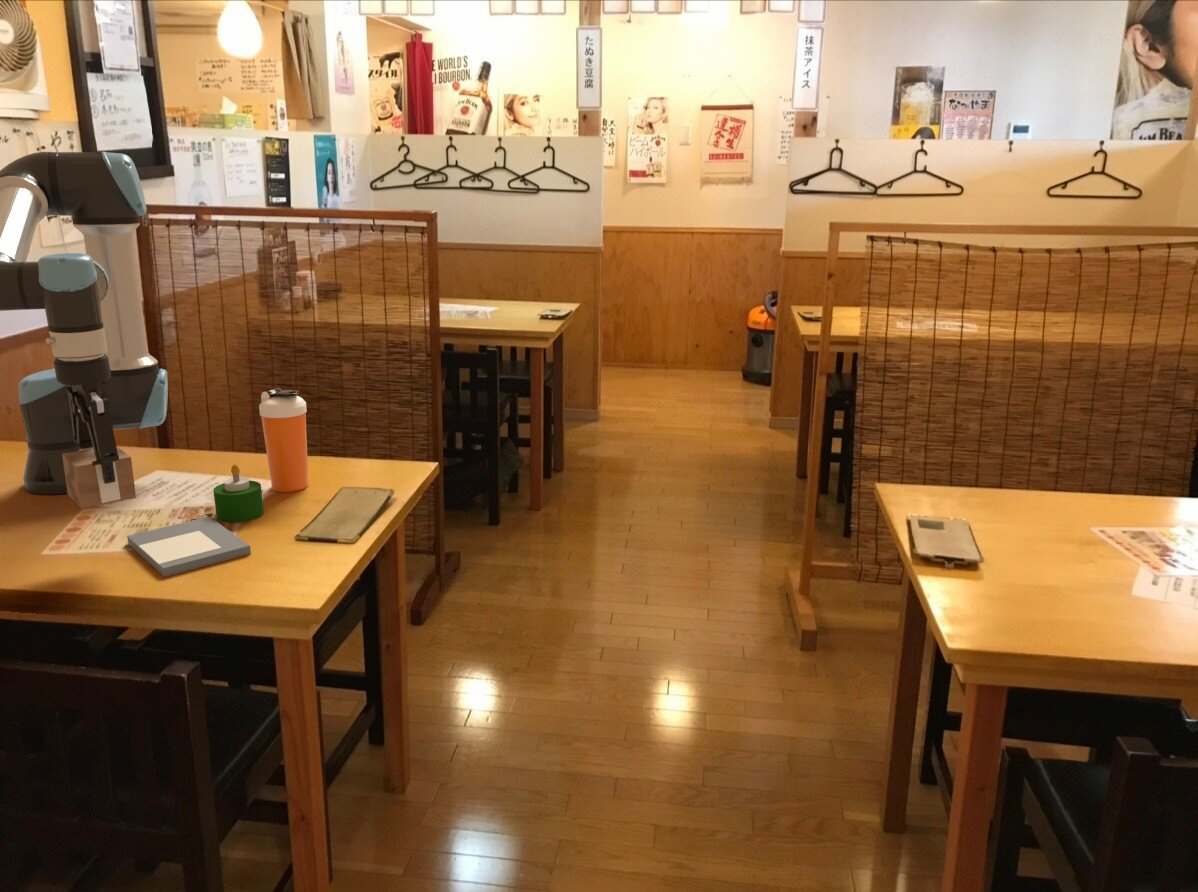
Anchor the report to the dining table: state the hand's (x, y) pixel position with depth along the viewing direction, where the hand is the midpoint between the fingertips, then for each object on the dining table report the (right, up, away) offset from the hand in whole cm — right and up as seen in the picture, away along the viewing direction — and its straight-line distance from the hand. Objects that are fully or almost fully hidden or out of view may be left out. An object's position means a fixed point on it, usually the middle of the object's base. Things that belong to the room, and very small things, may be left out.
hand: (102, 492), depth 152 cm
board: (+11, -10, +7) cm, 16 cm away
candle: (+14, -5, +23) cm, 27 cm away
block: (0, -1, 0) cm, 1 cm away
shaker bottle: (+18, -1, +38) cm, 42 cm away
